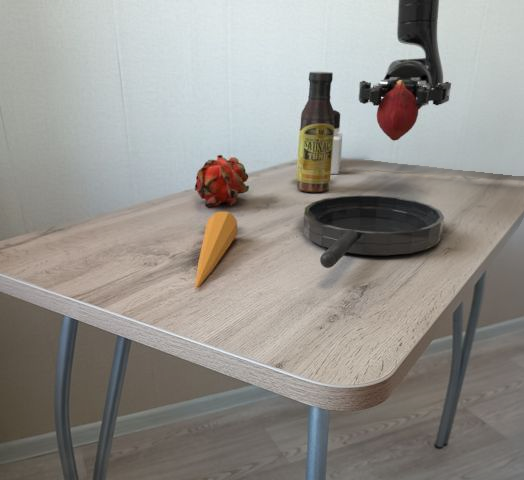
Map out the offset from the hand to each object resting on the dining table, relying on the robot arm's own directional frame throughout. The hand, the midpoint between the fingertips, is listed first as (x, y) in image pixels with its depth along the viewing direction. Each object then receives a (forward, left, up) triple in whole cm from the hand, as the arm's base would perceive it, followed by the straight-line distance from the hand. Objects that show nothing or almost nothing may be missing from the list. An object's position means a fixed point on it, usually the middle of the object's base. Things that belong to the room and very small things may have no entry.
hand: (398, 97), depth 76 cm
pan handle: (0, +22, -16) cm, 27 cm away
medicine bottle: (+21, -33, -18) cm, 43 cm away
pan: (0, +7, -18) cm, 19 cm away
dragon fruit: (+28, 0, -18) cm, 34 cm away
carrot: (+17, +25, -18) cm, 35 cm away
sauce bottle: (+17, -16, -18) cm, 30 cm away
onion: (0, -3, -6) cm, 7 cm away
